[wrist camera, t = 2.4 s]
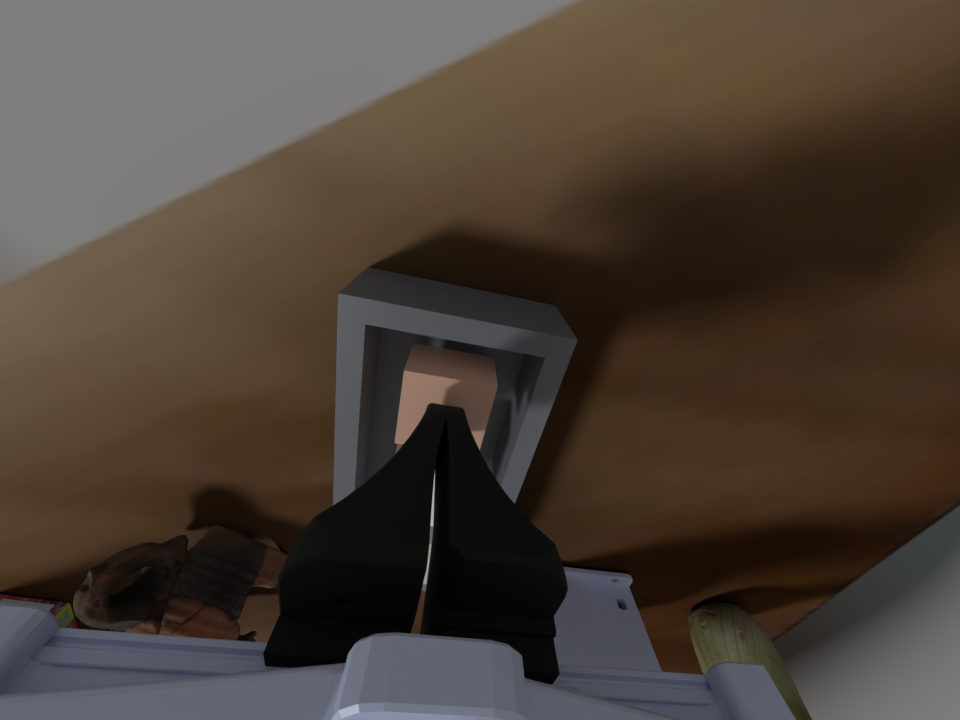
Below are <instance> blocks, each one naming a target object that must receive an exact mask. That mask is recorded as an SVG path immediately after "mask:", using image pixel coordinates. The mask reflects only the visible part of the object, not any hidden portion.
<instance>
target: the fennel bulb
mask: <svg viewBox="0 0 960 720" xmlns="http://www.w3.org/2000/svg"><path fill="white" fill-rule="evenodd" d="M688 622H689V625H690V636H691V640H692V643H693V646H694V650H695V653H696V655H697V658H698V661H699V663H700V666H701V669H702V672H703V674H704V675H706V672H707V671H708V670H709V669H710V668H711V667H712V666H713V665H715V664H717V663H720V662H727V661H731V662H744V663H757V664H761V665H763V666H764V667H765V669H766V671H767V672H768V674H769V676H770V677H771V679H772V681H773V682H774V684H775V686H776V687H777V689H778V691H779V692H780V694H781V696H782V697H783V699H784V701H785V702H786V704H787V706H788V707H789V709H790V711H791V712H792V714H793V716H794V717H795V719H796V720H812V719H811V717H810V715H809V713H808V711H807V709H806V707H805V705H804V703H803V701H802V699H801V697H800V695H799V693H798V690H797V688H796V686H795V684H794V681H793V680H792V677H791V676H790V674H789V672H788V670H787V668H786V666H785V665H784V663H783V661H782V659H781V657H780V656H779V654H778V652H777V651H776V649H775V647H774V646H773V644H772V642H771V641H770V639H769V637H768V636H767V634H766V633H765V631H764V630H763V629H762V628H761V626H760V625H759V624H758V623H757V622H756V621H755V620H754V619H753V618H752V617H751V616H750V615H749V614H748V613H747V612H746V611H745V610H743V609H742V608H740V607H739V606H736V605H734V604H729V603H718V602H717V603H708V604H705V605H702V606H701V607H699V608H697V609H696V610H694V611H693V612H692V613H690V614H689V615H688Z"/></svg>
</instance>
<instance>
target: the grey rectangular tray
mask: <svg viewBox="0 0 960 720" xmlns="http://www.w3.org/2000/svg"><path fill="white" fill-rule="evenodd" d="M577 341H578V339H577V338H576V336H575V335H574V333H573V332H572V330H571V329H570V327H569V326H568V324H567V323H566V321H565V319H564V318H563V316H562V315H561V313H560V312H559V310H558V309H557V307H556V306H555V305H551V304H546V303H541V302H536V301H531V300H527V299H522V298H517V297H512V296H507V295H502V294H497V293H492V292H488V291H483V290H478V289H473V288H468V287H463V286H458V285H453V284H449V283H444V282H439V281H434V280H429V279H424V278H419V277H414V276H410V275H405V274H400V273H395V272H390V271H385V270H380V269H375V268H371V267H367V268H366V269H365V270H364V271H363V272H362V273H361V274H360V275H358V276H357V277H356V278H355V279H354V280H353V281H352V282H350V283H349V284H348V285H347V286H346V287H345V288H344V289H343V290H341V291H340V292H339V293H338V322H337V363H336V405H335V446H334V487H333V505H334V504H336V503H338V502H339V501H341V500H342V499H344V498H345V497H346V496H348V495H349V494H350V493H352V492H353V491H354V490H356V489H357V488H358V487H360V486H361V485H362V484H364V483H365V482H366V481H367V480H368V479H370V478H371V477H372V476H373V475H374V474H375V473H376V472H377V471H379V470H380V469H381V468H382V467H383V466H384V465H385V464H386V463H387V462H388V461H389V460H390V459H391V458H392V457H393V456H394V455H395V452H396V448H397V445H398V444H396V443H395V435H396V428H397V420H398V412H399V405H400V397H401V389H402V381H403V374H404V369H405V366H406V363H407V360H408V357H409V354H410V351H411V349H412V346H413V343H417V344H422V345H428V346H433V347H439V348H444V349H450V350H455V351H461V352H466V353H472V354H477V355H483V356H488V357H494V361H495V369H496V377H497V384H498V388H497V391H496V395H495V398H494V402H493V405H492V409H491V412H490V416H489V419H488V423H487V426H486V430H485V433H484V437H483V440H482V444H481V447H480V452H481V454H482V456H483V458H484V460H485V462H486V464H487V465H488V467H489V469H490V470H491V472H492V474H493V475H494V477H495V478H496V480H497V481H498V483H499V484H500V486H501V487H502V488H503V490H504V491H505V493H506V494H507V495H508V497H509V498H510V499H511V500H512V501H513V503H514V504H515V502H516V500H517V497H518V494H519V492H520V489H521V487H522V484H523V481H524V479H525V476H526V474H527V471H528V468H529V466H530V463H531V460H532V458H533V455H534V453H535V450H536V447H537V445H538V442H539V440H540V437H541V434H542V432H543V429H544V427H545V424H546V421H547V419H548V416H549V414H550V411H551V408H552V406H553V403H554V401H555V398H556V395H557V393H558V390H559V387H560V385H561V382H562V380H563V377H564V374H565V372H566V369H567V367H568V364H569V361H570V359H571V356H572V354H573V351H574V348H575V346H576V343H577ZM426 585H427V584H423V586H422V590H421V591H426Z"/></svg>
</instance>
